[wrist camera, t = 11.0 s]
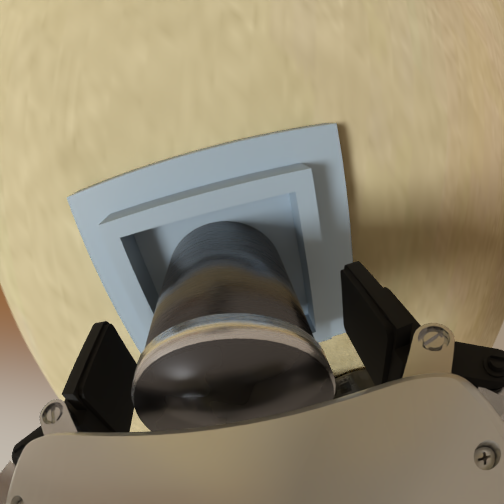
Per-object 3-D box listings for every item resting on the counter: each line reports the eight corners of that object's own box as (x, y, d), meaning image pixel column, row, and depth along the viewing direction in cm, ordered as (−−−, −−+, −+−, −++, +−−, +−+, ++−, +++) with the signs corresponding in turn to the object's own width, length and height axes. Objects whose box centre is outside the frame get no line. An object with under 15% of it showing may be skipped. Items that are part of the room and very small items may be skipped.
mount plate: (348, 318, 18) (364, 346, 15) (156, 362, 18) (151, 393, 15) (327, 123, 13) (351, 124, 10) (77, 191, 13) (50, 207, 10)
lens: (291, 307, 16) (337, 434, 8) (189, 331, 16) (179, 462, 8) (271, 205, 13) (334, 311, 6) (150, 237, 13) (90, 361, 6)
